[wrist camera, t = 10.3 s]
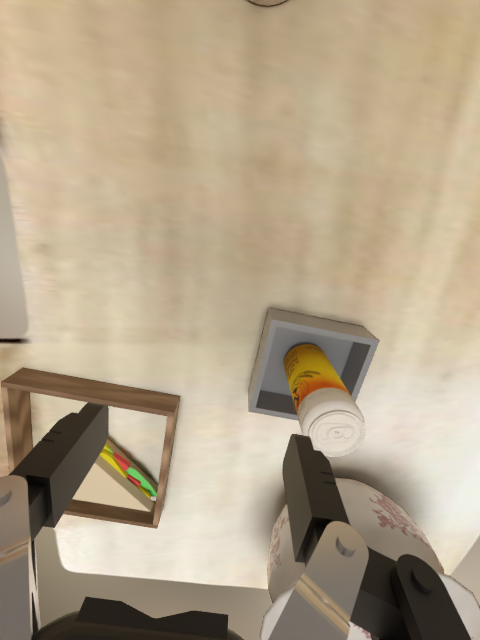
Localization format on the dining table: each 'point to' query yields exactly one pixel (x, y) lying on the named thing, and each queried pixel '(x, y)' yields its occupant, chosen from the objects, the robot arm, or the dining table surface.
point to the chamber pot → (379, 534)
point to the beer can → (323, 402)
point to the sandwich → (117, 482)
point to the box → (296, 329)
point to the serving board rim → (96, 392)
